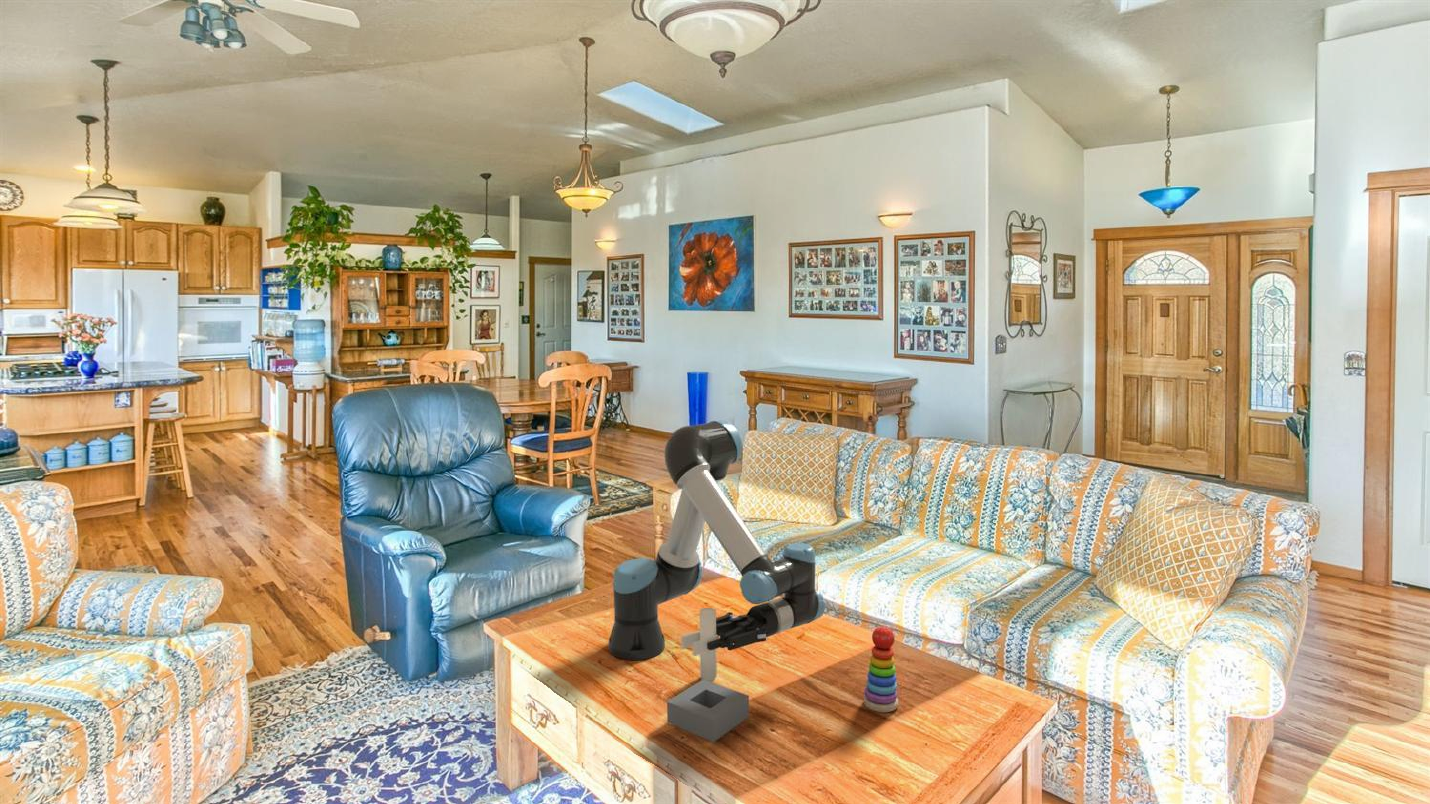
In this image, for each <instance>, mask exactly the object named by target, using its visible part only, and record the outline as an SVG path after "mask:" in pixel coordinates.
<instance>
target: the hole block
mask: <svg viewBox="0 0 1430 804" xmlns="http://www.w3.org/2000/svg"><path fill="white" fill-rule="evenodd" d="M666 710H667V711H666V712H667V713H666V716H667V718H666V719H667V722H669V723H671V724H670V725H672V724H673V725H672V726H674V727H676V726H677V728H679V729H681V730H683V731H686V732H688V733H690V734H692V735H695V736H698V737H700V738H702V739H705V740H707V741H710V742H712V743H715V742H716V741H717V740H719V739H720V738H722V737H723V736H725V734H727V733H729V732H730V731H732V730H733V729H734V728H736V727H737V726H738V725H739V724H741V723H742V722H743V721H745V720H747V719H748V718H749V717H750V695H748V694H745V693H742V692H740V691H737V690H734V689H732V688H729V687H726V686H724V685H721V684H718V683H715V682H714V681H712V682H710V681H707V680H705V679H703V680H701V679H700V681H698V682H697V683H695V684H693V685H691V686H690V687H689V688H687V689H685V690H684V691H682V692H680V693H679V694H677V695H676V696H673V698H671V699H669V700H667V701H666ZM669 723H668V724H669Z"/></svg>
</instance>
